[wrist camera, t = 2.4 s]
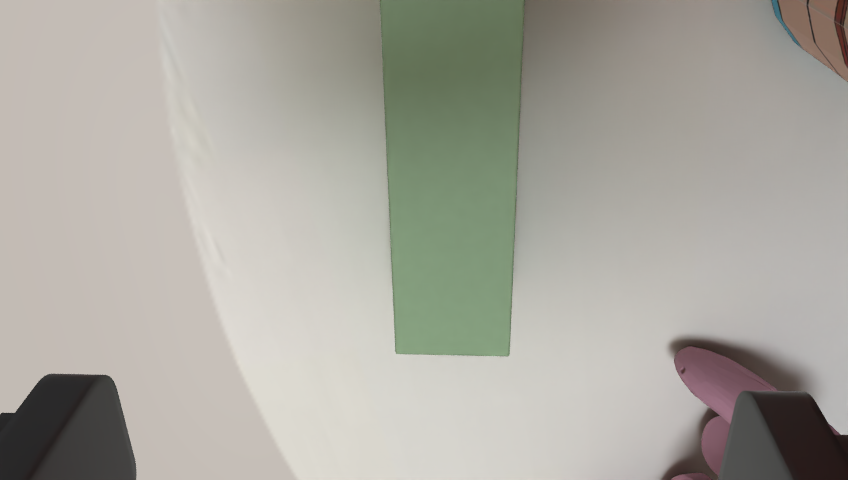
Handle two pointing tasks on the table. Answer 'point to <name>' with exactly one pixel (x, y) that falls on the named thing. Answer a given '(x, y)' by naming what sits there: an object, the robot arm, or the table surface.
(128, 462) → the robot arm
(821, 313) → the table surface
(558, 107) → the table surface
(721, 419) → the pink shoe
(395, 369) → the table surface
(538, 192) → the table surface
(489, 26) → the bar
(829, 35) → the cup
